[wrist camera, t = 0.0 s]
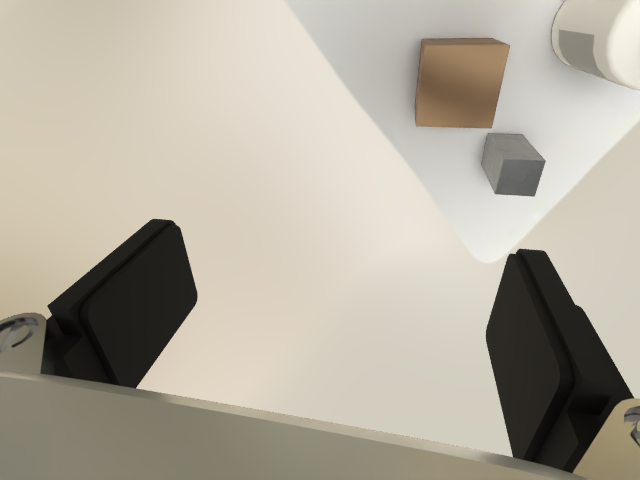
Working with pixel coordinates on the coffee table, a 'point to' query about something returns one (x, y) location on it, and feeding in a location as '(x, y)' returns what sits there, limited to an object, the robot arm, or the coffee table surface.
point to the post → (512, 164)
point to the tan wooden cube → (459, 82)
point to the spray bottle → (600, 38)
